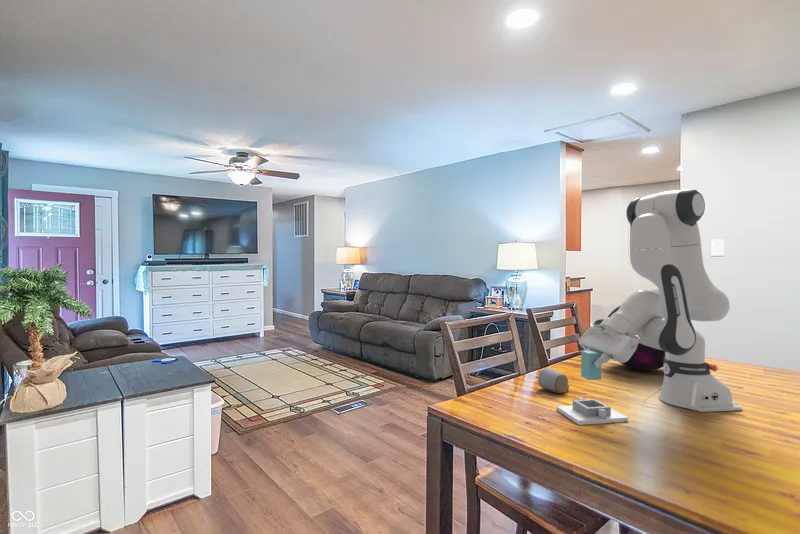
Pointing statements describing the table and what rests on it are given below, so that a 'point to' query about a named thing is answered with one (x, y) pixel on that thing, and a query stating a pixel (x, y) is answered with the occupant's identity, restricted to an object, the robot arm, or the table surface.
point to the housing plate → (591, 412)
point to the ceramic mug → (553, 380)
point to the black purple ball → (644, 356)
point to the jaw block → (590, 365)
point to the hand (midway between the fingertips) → (589, 363)
